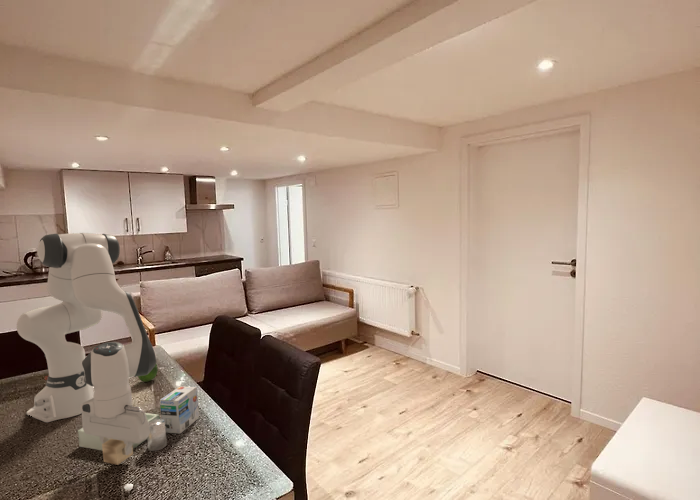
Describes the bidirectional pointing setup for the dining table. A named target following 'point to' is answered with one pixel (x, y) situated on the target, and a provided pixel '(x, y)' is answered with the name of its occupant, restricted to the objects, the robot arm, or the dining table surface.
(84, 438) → the tote
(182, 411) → the light bulb box
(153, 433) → the cylinder
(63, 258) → the robot arm
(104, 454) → the cube
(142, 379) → the avocado
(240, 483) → the dining table surface
